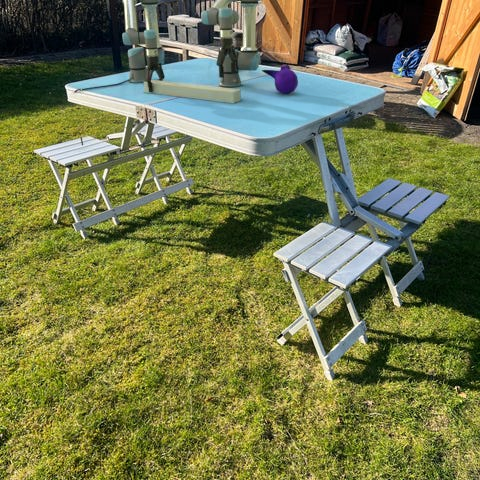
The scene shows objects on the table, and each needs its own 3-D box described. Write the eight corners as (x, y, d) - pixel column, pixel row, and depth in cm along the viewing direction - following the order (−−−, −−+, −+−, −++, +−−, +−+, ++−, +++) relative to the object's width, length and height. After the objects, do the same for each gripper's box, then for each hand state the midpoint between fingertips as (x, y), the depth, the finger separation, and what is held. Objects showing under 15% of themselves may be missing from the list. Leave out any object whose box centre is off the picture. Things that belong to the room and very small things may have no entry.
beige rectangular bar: (144, 92, 306) (143, 82, 303) (153, 89, 313) (152, 79, 309) (233, 103, 274) (233, 92, 271) (240, 100, 281) (240, 89, 277)
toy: (281, 86, 312) (297, 99, 291) (258, 82, 304) (273, 95, 284) (288, 63, 304) (305, 74, 283) (264, 58, 296) (281, 69, 276)
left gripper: (145, 58, 285) (149, 94, 296) (167, 53, 302) (171, 87, 313) (136, 57, 288) (140, 93, 299) (159, 53, 305) (162, 86, 316)
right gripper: (220, 40, 251) (221, 79, 262) (242, 35, 270) (243, 72, 280) (209, 39, 255) (211, 78, 265) (232, 35, 273) (233, 71, 284)
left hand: (156, 90), depth 306 cm, fingers open, 10 cm apart
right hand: (227, 75), depth 273 cm, fingers open, 13 cm apart
